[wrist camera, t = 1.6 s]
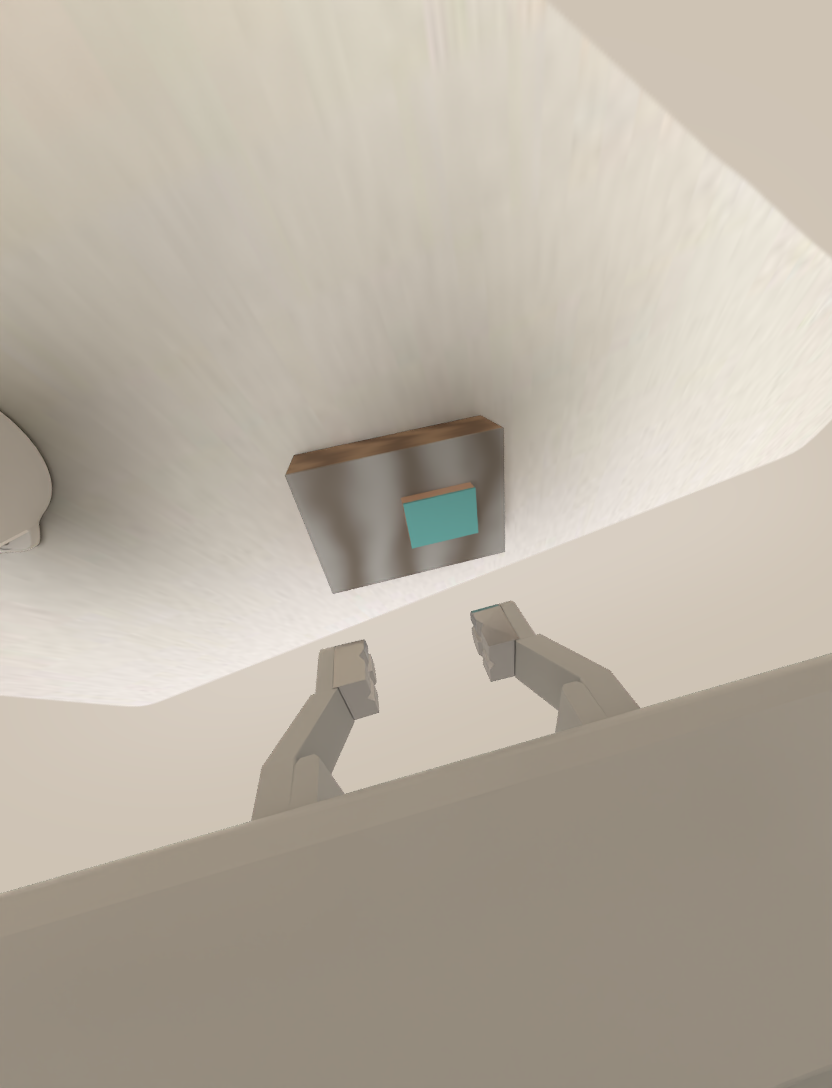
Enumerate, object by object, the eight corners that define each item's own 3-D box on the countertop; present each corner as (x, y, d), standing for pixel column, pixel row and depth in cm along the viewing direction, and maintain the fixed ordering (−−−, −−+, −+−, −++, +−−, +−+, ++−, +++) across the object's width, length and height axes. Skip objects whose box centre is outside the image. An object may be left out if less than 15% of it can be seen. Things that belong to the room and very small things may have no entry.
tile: (409, 540, 34) (411, 548, 33) (400, 497, 32) (403, 504, 30) (473, 525, 35) (478, 532, 33) (470, 482, 32) (475, 488, 31)
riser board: (334, 562, 41) (332, 593, 36) (293, 455, 33) (285, 475, 28) (486, 526, 42) (504, 551, 37) (480, 415, 35) (503, 427, 30)
